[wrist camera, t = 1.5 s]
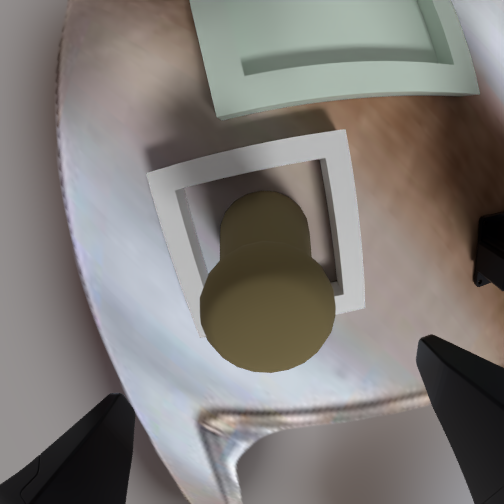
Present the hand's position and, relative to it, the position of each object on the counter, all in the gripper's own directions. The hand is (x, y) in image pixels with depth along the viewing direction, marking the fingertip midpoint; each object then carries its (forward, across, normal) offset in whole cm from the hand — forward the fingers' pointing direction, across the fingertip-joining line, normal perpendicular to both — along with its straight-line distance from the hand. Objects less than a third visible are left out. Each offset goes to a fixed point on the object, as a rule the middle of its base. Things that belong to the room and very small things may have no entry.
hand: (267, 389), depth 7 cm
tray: (+13, -9, -17) cm, 23 cm away
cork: (+14, 0, 0) cm, 14 cm away
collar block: (+13, 0, 0) cm, 13 cm away
